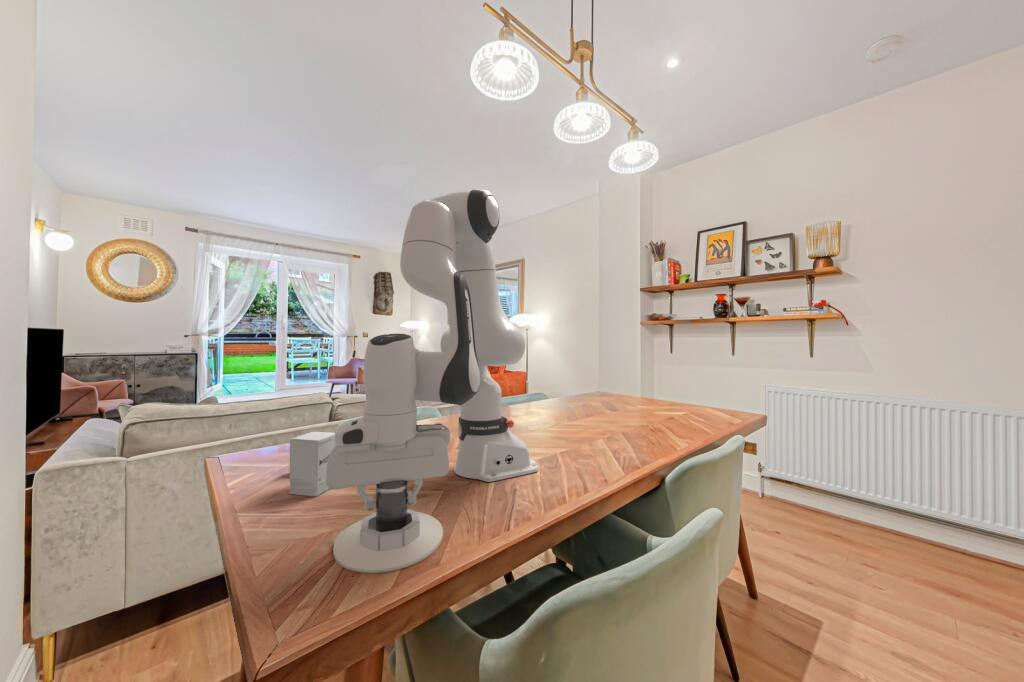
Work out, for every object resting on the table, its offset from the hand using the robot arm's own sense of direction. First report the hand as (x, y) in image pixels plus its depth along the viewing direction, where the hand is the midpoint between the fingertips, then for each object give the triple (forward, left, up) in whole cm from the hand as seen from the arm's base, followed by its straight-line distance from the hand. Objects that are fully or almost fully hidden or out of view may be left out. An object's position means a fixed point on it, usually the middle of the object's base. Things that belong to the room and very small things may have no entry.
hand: (390, 505), depth 66 cm
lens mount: (0, 0, -6) cm, 6 cm away
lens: (0, 0, -5) cm, 5 cm away
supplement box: (+16, -29, -6) cm, 34 cm away
